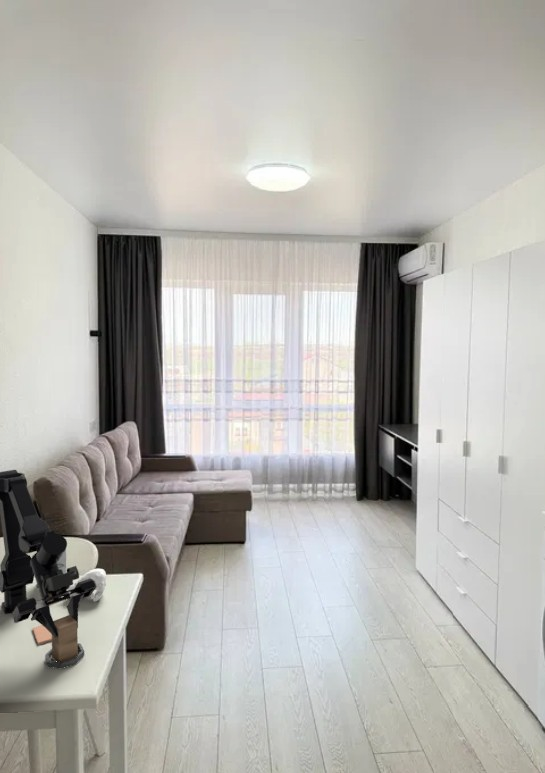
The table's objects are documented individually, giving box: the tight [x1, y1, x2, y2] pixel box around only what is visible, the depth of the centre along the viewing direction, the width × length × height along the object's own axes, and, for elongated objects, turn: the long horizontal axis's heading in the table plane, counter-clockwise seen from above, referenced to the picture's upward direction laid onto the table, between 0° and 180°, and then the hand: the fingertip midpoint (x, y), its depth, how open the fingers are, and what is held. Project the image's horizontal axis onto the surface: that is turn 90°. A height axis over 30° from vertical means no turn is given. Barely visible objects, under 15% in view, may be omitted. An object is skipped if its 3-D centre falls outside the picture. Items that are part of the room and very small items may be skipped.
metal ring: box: [44, 642, 85, 669], centre depth 121 cm, size 8×8×1 cm
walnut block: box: [51, 614, 79, 662], centre depth 121 cm, size 4×4×9 cm
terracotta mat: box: [32, 624, 52, 646], centre depth 131 cm, size 8×8×1 cm
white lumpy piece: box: [66, 568, 107, 602], centre depth 149 cm, size 6×8×12 cm
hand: (66, 632), depth 119 cm, fingers closed on walnut block, 4 cm apart
